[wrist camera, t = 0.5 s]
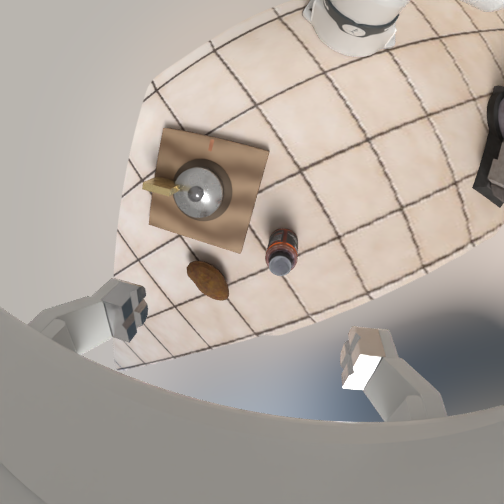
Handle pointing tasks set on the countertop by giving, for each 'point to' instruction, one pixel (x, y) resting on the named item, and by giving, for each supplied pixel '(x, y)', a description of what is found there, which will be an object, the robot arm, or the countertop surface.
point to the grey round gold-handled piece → (191, 191)
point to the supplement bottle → (282, 252)
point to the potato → (208, 280)
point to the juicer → (493, 152)
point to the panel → (233, 178)
